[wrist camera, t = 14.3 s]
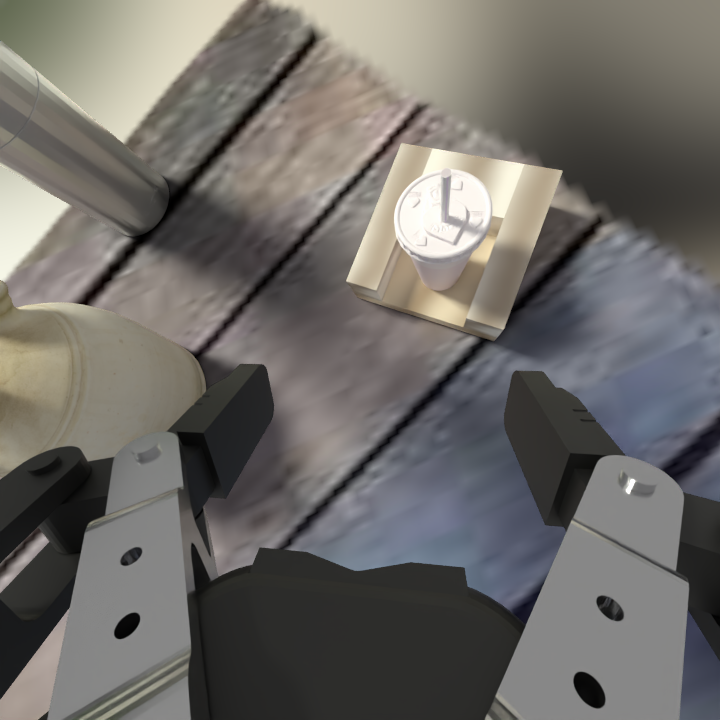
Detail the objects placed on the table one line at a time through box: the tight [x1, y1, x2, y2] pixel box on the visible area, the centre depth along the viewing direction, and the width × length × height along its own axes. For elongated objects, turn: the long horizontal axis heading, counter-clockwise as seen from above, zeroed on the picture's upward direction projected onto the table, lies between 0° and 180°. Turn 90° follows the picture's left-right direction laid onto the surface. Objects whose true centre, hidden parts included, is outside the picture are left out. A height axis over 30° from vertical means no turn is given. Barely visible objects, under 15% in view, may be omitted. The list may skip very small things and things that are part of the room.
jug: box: [0, 280, 206, 478], centre depth 25 cm, size 15×16×25 cm
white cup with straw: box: [394, 168, 493, 291], centre depth 24 cm, size 6×6×14 cm
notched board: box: [346, 143, 562, 341], centre depth 30 cm, size 14×14×4 cm
